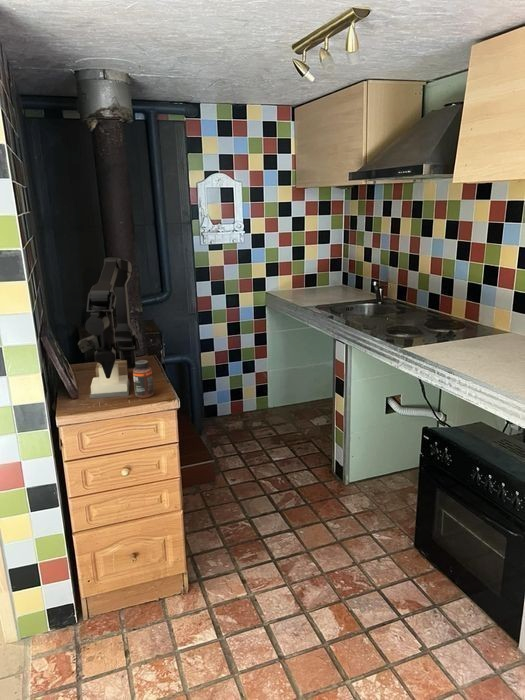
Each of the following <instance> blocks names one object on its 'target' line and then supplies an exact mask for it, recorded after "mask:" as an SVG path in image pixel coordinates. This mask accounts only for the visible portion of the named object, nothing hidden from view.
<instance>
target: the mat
mask: <svg viewBox="0 0 525 700" xmlns="http://www.w3.org/2000/svg"><path fill="white" fill-rule="evenodd" d="M130 383H131V380H130V379H128V389H127V391H124V392H112V393H99V394H91V392H90V393H89V399H90V400H91V399H101V398H103V399H105V398H113V397H116V398H117V397H126V396H127V397H128V396H130V395H129V393H130Z"/></svg>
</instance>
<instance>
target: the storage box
mask: <svg viewBox="0 0 525 700" xmlns="http://www.w3.org/2000/svg"><path fill="white" fill-rule="evenodd" d="M115 364H118V370H119V376H122V375H129V374H128V368H127V360H124V361H120V360H115V363H114V365H115ZM100 365H101V364H99V363H97V362H96V366H95V376H96V377H99V370H98V368H99V366H100Z"/></svg>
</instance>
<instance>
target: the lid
mask: <svg viewBox="0 0 525 700" xmlns="http://www.w3.org/2000/svg"><path fill="white" fill-rule="evenodd" d="M98 370H99V377H93V378H92V381H91V384H90V393H91V394H99V393H112V392H124V391H127V389H128V380H129V378H128V375H129V374H128V375H122V376H119V370H118V364H115V365H114V366H113V369H112V373H111V376H110V378H108V379H107V378H106V376H105V373H104V371H103V368H102V365H100V366H99V368H98Z"/></svg>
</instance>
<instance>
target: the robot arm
mask: <svg viewBox="0 0 525 700" xmlns="http://www.w3.org/2000/svg"><path fill="white" fill-rule="evenodd" d="M132 268H133V266H132V263H131V262H130V261H129V260H128V259H121V258H119V257H106V258H104V259H103V267H102V271H101V273H100V276H99V279H98V282H97V283H96V284H93V285H92V287H91V288H90V290H89V292H88V294H87V302H86V313H90V317H89V318H87V320H86V321H85V324H84V327H85V330H86V332H87V333H88V334H90V336H87V337H84V338H83V339H80V340H79V341H78V343H77V346H78V349H79V350H80V351H81V353H83V354H84V353H86V352H87V351H89V350H91V349H93V348H95V350H96V351H94V354H93V355H94V358H93V359H94V361H95V362H96V364H97V363H99V364H101V365H102V368H103V371H104V373H105V376H106V378H107V379H108V378H110V376H111V373H112V369H113V366H114V363H115V361H117V360H116V359H117V352H119V361H124V360H127V369H128V368H135V367H136V366H135V362H136V361H137V358H136V352H138V351H139V350H141V344H140V341H139V338H138V335H137V334H136V329H135V328H134V326H133V325H132V324H131V320H130V307H129V296H128V282H129V280H130V278H131V274H132V271H133V270H132ZM114 310H115V315H116V327H115V325H114V315H113V312H114Z"/></svg>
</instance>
